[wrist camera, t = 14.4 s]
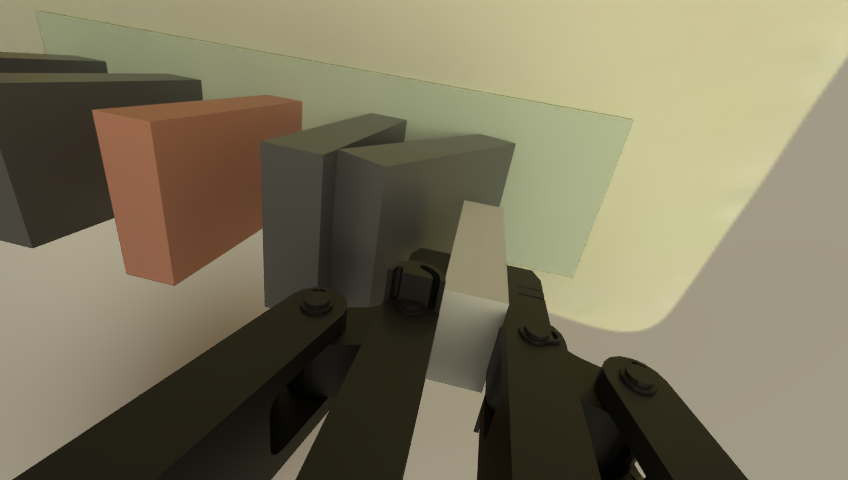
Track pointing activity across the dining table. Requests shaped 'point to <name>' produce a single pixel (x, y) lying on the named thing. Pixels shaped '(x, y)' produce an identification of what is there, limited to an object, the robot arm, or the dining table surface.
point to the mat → (406, 99)
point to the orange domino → (188, 177)
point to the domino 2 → (308, 199)
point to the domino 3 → (406, 204)
